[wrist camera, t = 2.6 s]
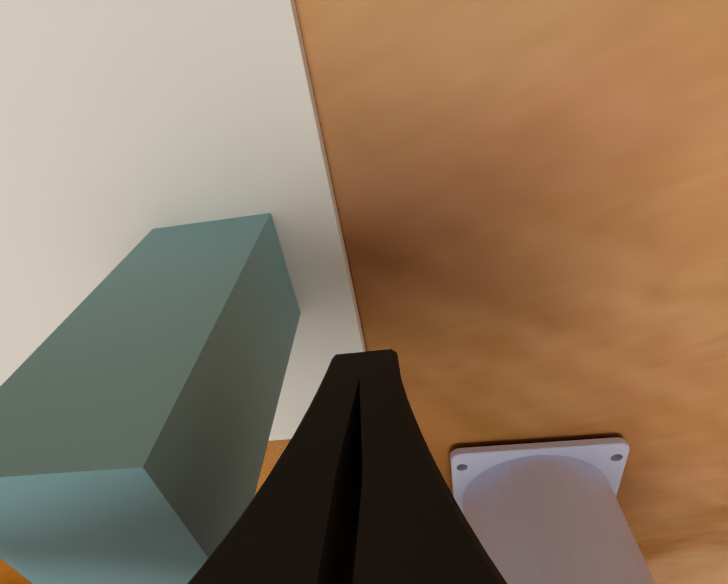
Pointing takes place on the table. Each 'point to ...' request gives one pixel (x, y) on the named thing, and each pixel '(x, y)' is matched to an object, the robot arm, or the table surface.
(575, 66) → the table surface
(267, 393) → the teal block
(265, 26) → the white mat
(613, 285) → the table surface
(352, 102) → the table surface
